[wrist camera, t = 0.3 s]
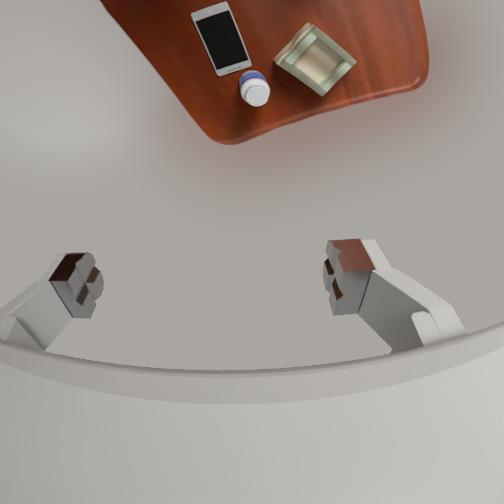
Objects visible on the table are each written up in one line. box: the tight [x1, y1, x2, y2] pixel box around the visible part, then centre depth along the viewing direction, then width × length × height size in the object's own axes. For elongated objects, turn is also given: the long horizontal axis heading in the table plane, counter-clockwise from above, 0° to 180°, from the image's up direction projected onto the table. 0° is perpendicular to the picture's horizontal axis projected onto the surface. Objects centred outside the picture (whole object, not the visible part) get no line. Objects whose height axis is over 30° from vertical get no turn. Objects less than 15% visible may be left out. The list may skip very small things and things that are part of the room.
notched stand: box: [274, 23, 356, 97], centre depth 42 cm, size 11×11×6 cm
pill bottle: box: [239, 71, 270, 106], centre depth 45 cm, size 5×5×10 cm
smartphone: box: [191, 2, 252, 76], centre depth 40 cm, size 7×16×1 cm, turn 18°
